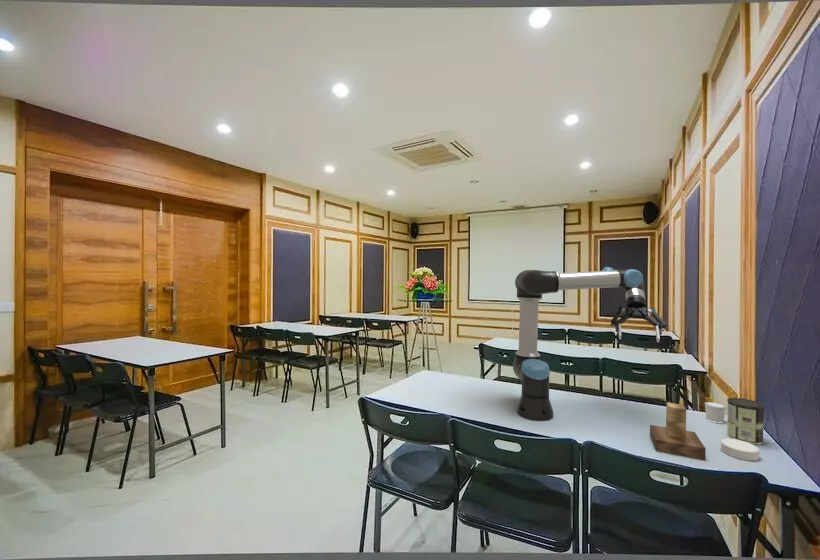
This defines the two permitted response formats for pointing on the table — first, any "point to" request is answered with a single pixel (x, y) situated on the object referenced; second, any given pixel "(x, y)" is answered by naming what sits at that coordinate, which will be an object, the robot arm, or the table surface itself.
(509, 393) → the table surface
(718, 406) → the white tapered cup
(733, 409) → the coffee can
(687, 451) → the walnut block
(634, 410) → the table surface
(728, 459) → the table surface
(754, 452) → the coaster
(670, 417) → the oak block
